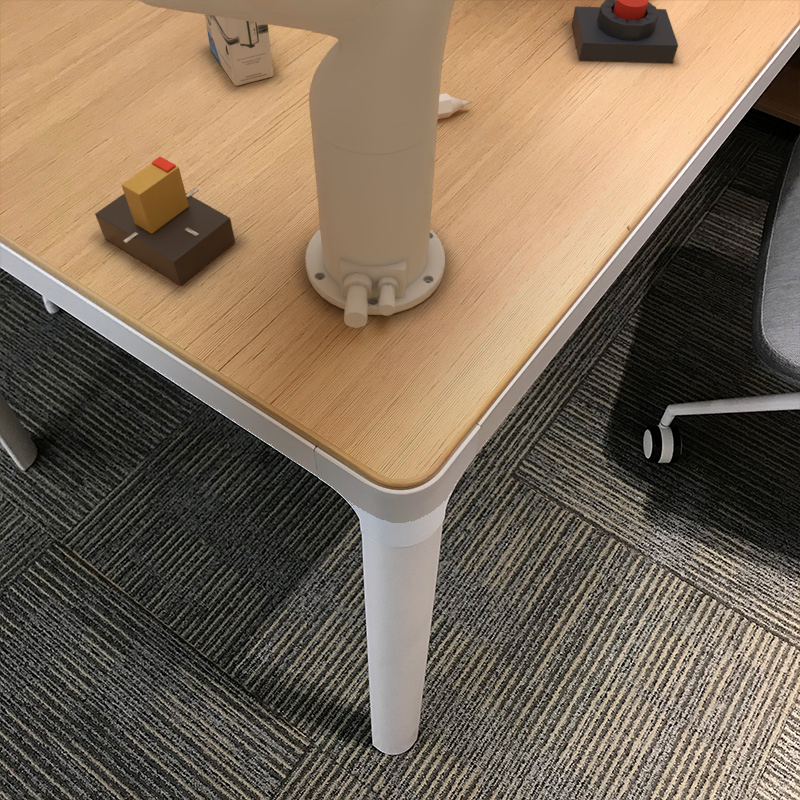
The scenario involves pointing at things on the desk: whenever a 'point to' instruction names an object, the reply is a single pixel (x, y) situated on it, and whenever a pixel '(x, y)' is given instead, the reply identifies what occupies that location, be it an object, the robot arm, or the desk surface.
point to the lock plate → (170, 237)
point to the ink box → (240, 48)
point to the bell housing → (623, 35)
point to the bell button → (630, 9)
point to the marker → (449, 105)
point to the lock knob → (155, 195)
